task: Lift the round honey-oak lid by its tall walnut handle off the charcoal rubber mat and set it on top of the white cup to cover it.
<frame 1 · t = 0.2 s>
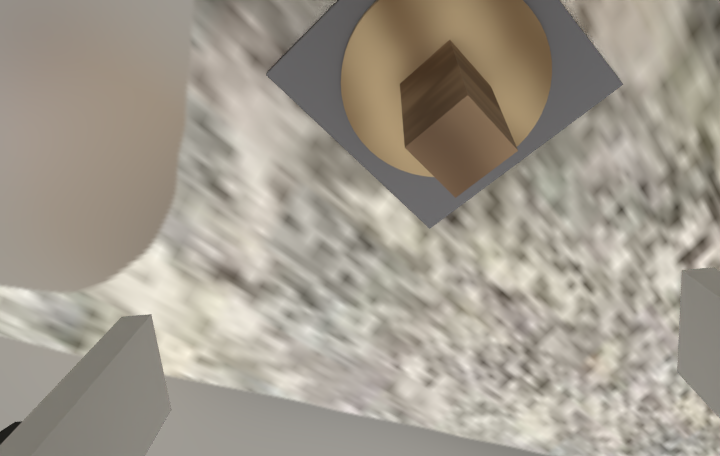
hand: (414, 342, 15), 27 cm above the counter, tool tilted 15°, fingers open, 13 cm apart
lid: (443, 79, 39), resting on mat
mat: (443, 76, 40), on the counter
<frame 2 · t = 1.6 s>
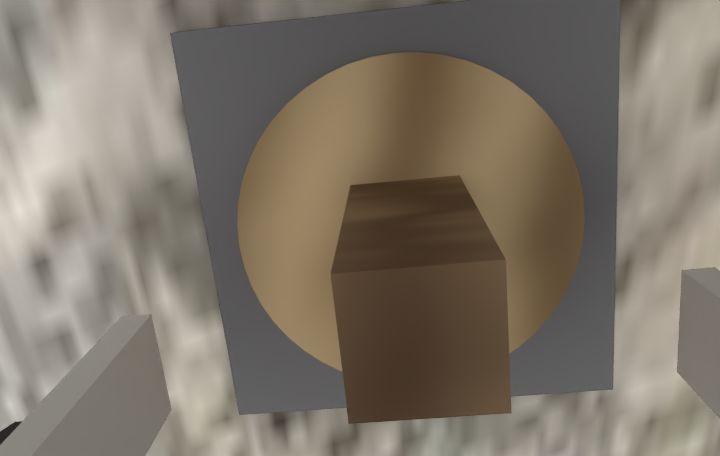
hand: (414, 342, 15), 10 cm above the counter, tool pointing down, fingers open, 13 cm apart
lid: (407, 224, 24), resting on mat
mat: (407, 220, 25), on the counter
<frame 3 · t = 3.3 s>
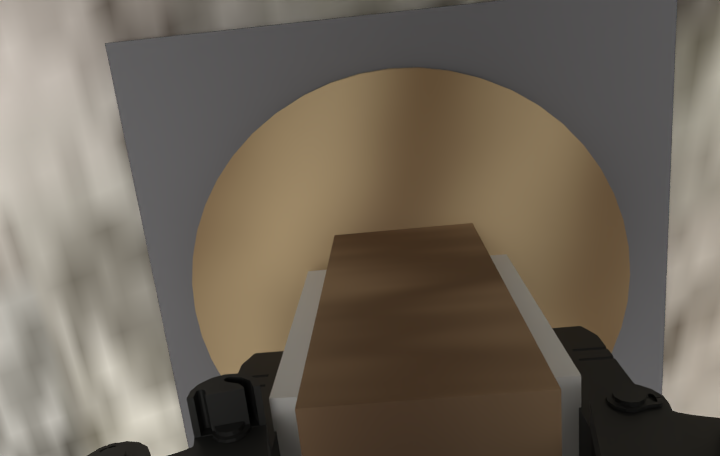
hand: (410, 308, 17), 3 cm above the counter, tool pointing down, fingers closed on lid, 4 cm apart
lid: (406, 280, 19), point 1 cm above the counter, touching gripper, mat
mat: (406, 275, 20), on the counter
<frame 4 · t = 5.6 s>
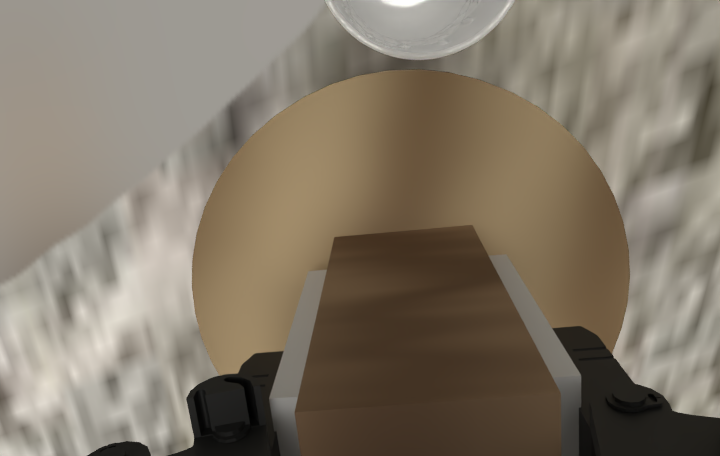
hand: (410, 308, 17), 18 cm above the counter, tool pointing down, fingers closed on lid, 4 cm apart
lid: (406, 282, 19), point 16 cm above the counter, touching gripper
when the fingers open (14 cm above the counter, at t = 8.0 s): lid drops 2 cm, resting on white cup.
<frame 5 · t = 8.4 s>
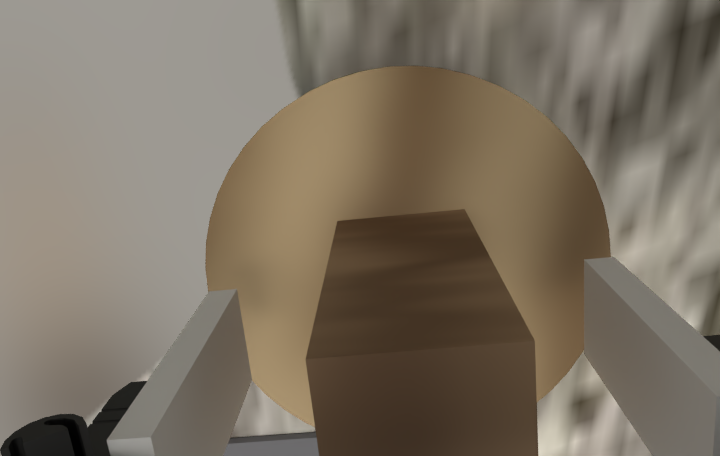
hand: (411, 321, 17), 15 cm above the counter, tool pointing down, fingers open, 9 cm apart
lid: (404, 264, 21), point 10 cm above the counter, touching white cup
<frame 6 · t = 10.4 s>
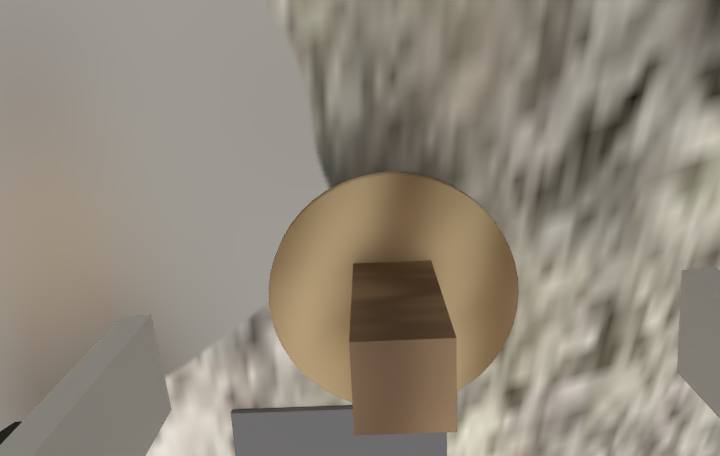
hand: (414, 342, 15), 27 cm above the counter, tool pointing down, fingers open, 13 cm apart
lid: (392, 291, 33), point 10 cm above the counter, touching white cup
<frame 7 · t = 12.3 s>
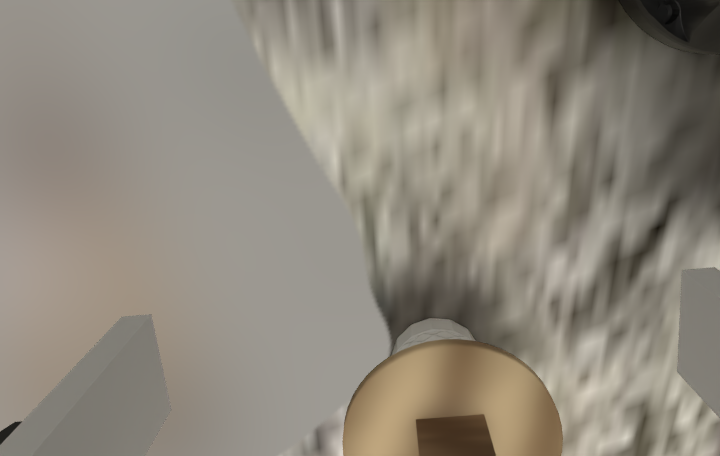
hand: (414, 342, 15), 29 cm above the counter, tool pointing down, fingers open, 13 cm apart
lid: (450, 435, 38), point 10 cm above the counter, touching white cup
white cup: (435, 355, 47), on the counter, touching lid
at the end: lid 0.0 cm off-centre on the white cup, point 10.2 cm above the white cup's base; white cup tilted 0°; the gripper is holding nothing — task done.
